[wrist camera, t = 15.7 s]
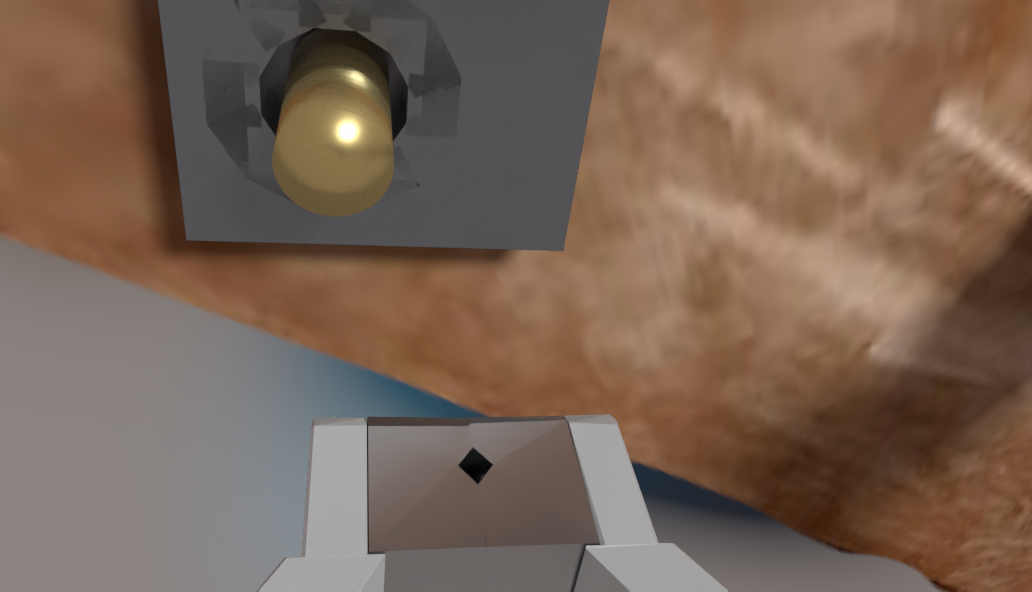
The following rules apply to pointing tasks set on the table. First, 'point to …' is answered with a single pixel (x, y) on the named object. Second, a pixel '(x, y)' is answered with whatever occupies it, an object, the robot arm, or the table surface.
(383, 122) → the peg
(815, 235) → the table surface
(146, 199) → the table surface
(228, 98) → the jig
